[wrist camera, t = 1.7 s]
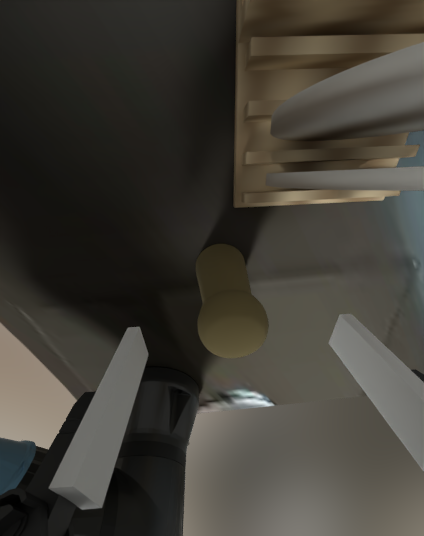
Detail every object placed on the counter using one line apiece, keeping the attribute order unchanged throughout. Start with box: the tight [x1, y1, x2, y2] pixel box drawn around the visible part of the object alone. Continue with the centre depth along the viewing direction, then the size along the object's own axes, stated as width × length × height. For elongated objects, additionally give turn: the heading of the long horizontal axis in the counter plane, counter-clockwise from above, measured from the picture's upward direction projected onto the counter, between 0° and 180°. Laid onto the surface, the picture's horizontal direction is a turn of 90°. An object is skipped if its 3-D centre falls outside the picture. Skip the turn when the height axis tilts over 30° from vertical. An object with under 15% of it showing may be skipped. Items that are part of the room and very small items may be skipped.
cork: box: [195, 244, 269, 358], centre depth 17 cm, size 6×6×11 cm
